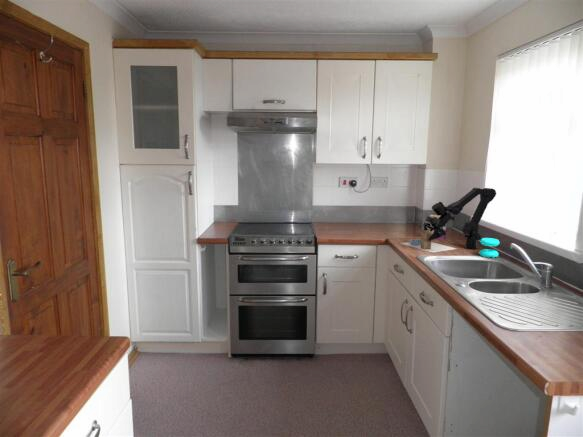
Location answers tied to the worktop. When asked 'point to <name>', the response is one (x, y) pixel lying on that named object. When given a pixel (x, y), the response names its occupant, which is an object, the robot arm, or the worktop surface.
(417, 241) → the socket
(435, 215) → the candy bar box
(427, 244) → the walnut column
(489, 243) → the pair of cyan ovals
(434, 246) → the white rectangular sheet
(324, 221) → the worktop surface
